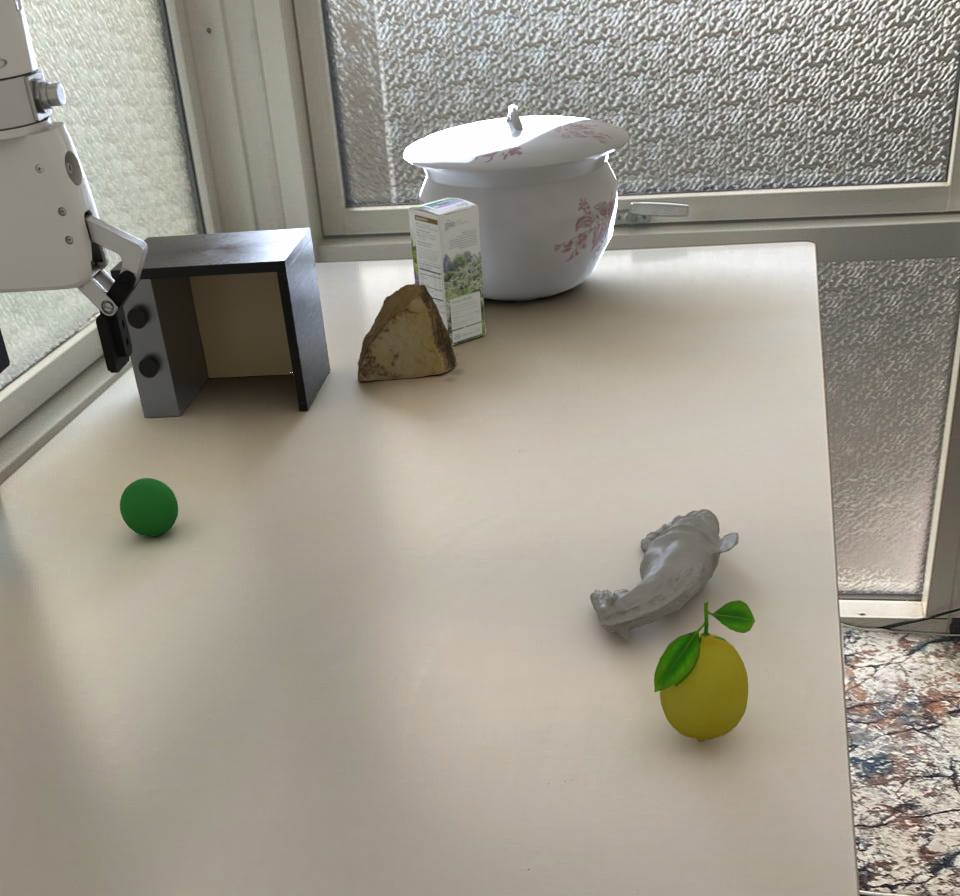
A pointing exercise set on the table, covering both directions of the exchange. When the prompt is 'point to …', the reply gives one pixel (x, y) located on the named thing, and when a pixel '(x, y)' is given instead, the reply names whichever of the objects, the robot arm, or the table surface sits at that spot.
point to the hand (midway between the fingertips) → (58, 369)
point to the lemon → (705, 677)
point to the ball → (149, 507)
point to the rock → (406, 339)
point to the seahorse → (666, 572)
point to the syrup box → (450, 263)
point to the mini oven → (225, 315)
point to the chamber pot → (528, 196)
